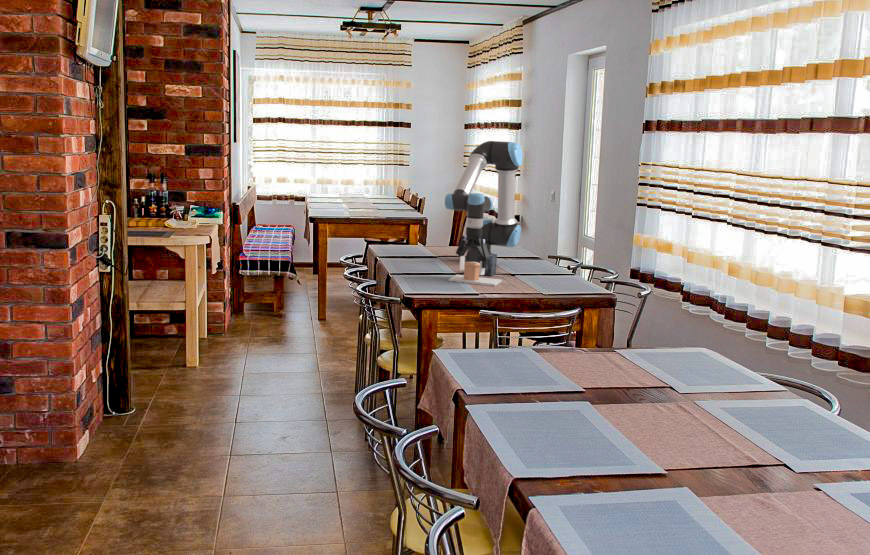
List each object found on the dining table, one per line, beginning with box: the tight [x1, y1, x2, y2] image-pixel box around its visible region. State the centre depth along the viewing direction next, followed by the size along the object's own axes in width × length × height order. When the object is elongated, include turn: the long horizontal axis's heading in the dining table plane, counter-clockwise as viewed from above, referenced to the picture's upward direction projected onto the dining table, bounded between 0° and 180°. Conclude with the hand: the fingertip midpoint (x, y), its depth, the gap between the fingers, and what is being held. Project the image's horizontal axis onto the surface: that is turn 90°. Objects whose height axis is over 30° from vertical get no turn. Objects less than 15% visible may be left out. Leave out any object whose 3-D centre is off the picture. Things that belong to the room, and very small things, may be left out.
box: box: [477, 252, 498, 277], centre depth 411 cm, size 8×6×11 cm
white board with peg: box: [448, 274, 503, 287], centre depth 393 cm, size 13×22×6 cm, turn 72°
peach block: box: [463, 262, 480, 280], centre depth 393 cm, size 7×7×8 cm
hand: (471, 272), depth 394 cm, fingers open, 13 cm apart
